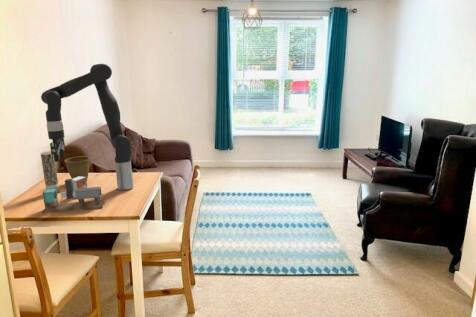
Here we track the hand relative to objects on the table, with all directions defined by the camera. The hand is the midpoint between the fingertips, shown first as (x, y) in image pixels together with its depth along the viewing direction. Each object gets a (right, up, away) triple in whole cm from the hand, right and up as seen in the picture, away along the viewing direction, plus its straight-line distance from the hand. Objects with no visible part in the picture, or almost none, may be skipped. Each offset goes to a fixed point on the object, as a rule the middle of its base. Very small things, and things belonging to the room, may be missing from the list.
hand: (59, 159), depth 188 cm
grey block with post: (+11, -20, 0) cm, 23 cm away
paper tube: (-16, -20, +24) cm, 36 cm away
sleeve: (+15, -20, +1) cm, 25 cm away
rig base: (+8, -26, +1) cm, 27 cm away
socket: (-4, -22, -2) cm, 22 cm away
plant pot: (-9, -15, +44) cm, 48 cm away
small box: (+2, -21, +20) cm, 29 cm away
